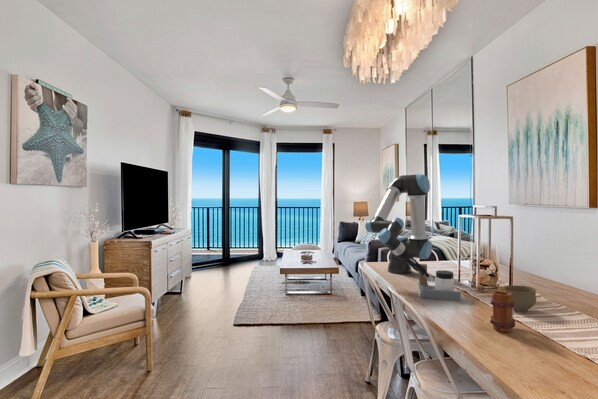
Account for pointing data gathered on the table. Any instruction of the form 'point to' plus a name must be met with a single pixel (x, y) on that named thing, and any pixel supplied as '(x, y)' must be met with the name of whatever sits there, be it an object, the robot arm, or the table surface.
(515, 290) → the bowl
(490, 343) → the table surface
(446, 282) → the jar
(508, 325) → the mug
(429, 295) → the pull strip
